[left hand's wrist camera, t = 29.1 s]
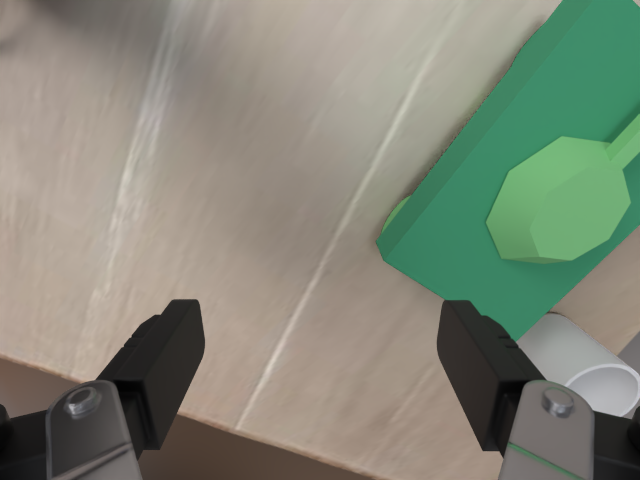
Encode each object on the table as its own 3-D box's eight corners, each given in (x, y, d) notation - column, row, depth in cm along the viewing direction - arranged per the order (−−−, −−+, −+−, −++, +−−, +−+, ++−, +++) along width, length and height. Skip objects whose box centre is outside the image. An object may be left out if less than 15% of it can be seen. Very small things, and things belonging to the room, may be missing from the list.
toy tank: (924, 18, 23) (535, 367, 34) (723, 46, 34) (479, 300, 45) (776, -185, 19) (391, 279, 30) (606, -78, 31) (371, 230, 41)
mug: (576, 302, 45) (646, 355, 35) (575, 356, 48) (639, 418, 39) (490, 320, 46) (536, 376, 36) (495, 371, 49) (538, 436, 40)
